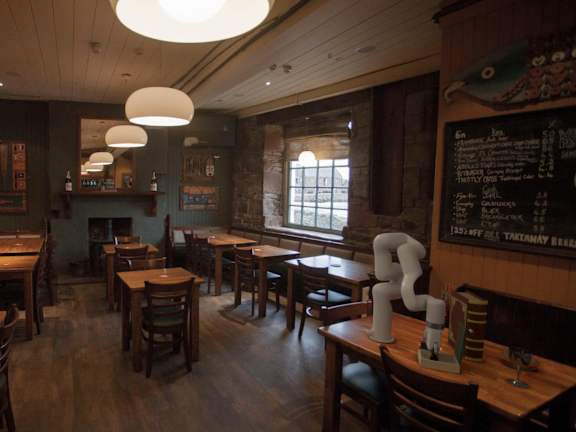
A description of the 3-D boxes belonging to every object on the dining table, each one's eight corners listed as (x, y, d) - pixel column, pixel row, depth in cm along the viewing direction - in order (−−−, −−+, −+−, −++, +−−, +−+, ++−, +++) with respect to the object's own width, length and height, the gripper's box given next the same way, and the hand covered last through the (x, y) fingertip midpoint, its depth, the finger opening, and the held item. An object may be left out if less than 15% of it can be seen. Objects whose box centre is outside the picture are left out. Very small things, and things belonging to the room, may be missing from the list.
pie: (528, 360, 192) (528, 350, 191) (548, 375, 177) (549, 364, 176) (491, 356, 196) (492, 347, 195) (508, 371, 181) (509, 360, 180)
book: (420, 366, 184) (420, 358, 184) (417, 356, 196) (418, 348, 195) (459, 373, 178) (460, 365, 177) (454, 362, 189) (455, 354, 189)
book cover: (464, 330, 176) (477, 333, 174) (459, 321, 187) (471, 324, 185) (459, 364, 177) (472, 367, 175) (454, 353, 189) (466, 356, 187)
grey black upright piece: (438, 349, 204) (439, 329, 203) (428, 352, 200) (429, 331, 199) (427, 345, 209) (428, 325, 208) (418, 348, 205) (419, 327, 204)
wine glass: (501, 379, 173) (503, 346, 171) (517, 379, 173) (520, 346, 172) (517, 388, 165) (520, 354, 163) (535, 388, 165) (537, 354, 164)
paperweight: (438, 364, 185) (439, 356, 184) (428, 363, 186) (429, 355, 186) (437, 361, 188) (437, 353, 188) (427, 359, 190) (428, 351, 190)
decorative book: (485, 362, 189) (490, 302, 187) (467, 360, 191) (471, 301, 188) (463, 344, 211) (467, 289, 209) (447, 342, 213) (450, 289, 210)
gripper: (424, 318, 195) (422, 354, 196) (428, 329, 180) (426, 367, 181) (441, 320, 192) (439, 356, 193) (447, 332, 177) (445, 371, 178)
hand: (433, 361), depth 187 cm, fingers open, 4 cm apart
